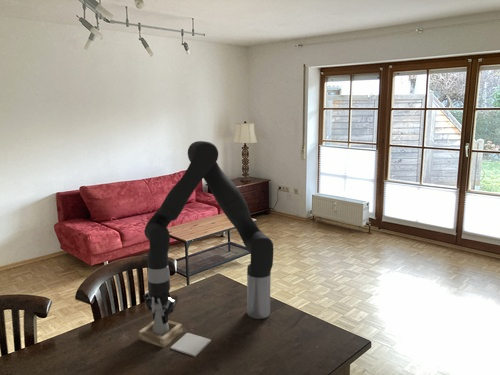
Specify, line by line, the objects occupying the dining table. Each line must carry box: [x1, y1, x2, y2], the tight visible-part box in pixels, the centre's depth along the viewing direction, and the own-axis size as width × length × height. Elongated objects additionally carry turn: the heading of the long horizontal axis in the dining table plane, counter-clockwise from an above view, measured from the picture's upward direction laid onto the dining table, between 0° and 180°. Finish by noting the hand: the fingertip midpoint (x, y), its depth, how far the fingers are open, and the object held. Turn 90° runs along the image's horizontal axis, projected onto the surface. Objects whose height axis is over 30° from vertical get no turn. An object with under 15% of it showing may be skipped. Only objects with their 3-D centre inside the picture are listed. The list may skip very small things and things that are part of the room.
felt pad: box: [170, 332, 212, 357], centre depth 138 cm, size 10×10×1 cm
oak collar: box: [138, 319, 184, 348], centre depth 143 cm, size 11×11×3 cm
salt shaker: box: [153, 303, 170, 336], centre depth 142 cm, size 6×6×13 cm
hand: (160, 322), depth 142 cm, fingers closed on salt shaker, 3 cm apart
